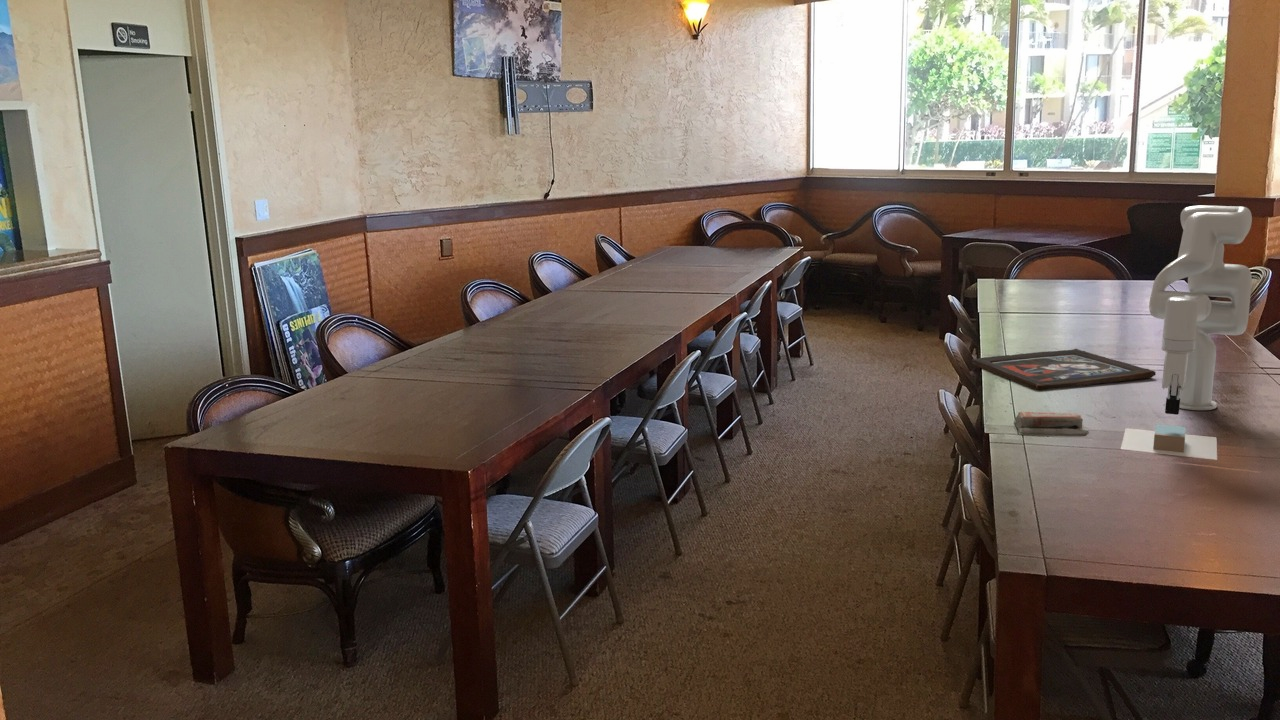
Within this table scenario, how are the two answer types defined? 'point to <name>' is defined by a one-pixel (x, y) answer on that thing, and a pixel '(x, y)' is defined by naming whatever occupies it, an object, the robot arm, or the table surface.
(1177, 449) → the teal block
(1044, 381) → the religious icon
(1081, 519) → the table surface
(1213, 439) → the board
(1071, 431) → the packaged product
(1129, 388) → the table surface
